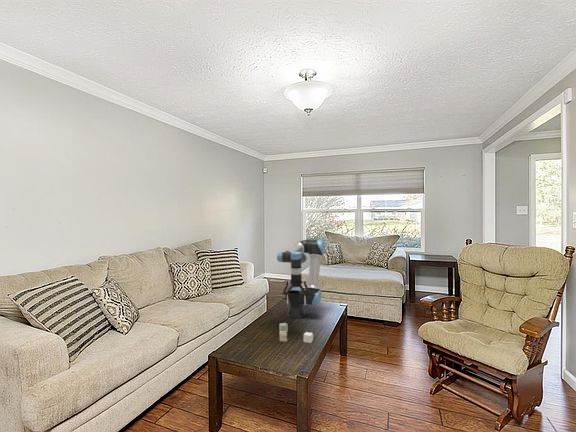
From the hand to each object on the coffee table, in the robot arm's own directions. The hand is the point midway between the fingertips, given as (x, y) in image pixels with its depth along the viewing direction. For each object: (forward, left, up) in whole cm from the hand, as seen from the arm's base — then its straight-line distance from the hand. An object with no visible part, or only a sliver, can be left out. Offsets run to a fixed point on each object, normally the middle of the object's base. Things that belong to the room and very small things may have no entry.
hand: (296, 304), depth 212 cm
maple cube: (+11, -8, -21) cm, 25 cm away
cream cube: (+11, +9, -21) cm, 26 cm away
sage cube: (-4, -10, -21) cm, 24 cm away
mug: (0, 0, -1) cm, 1 cm away
